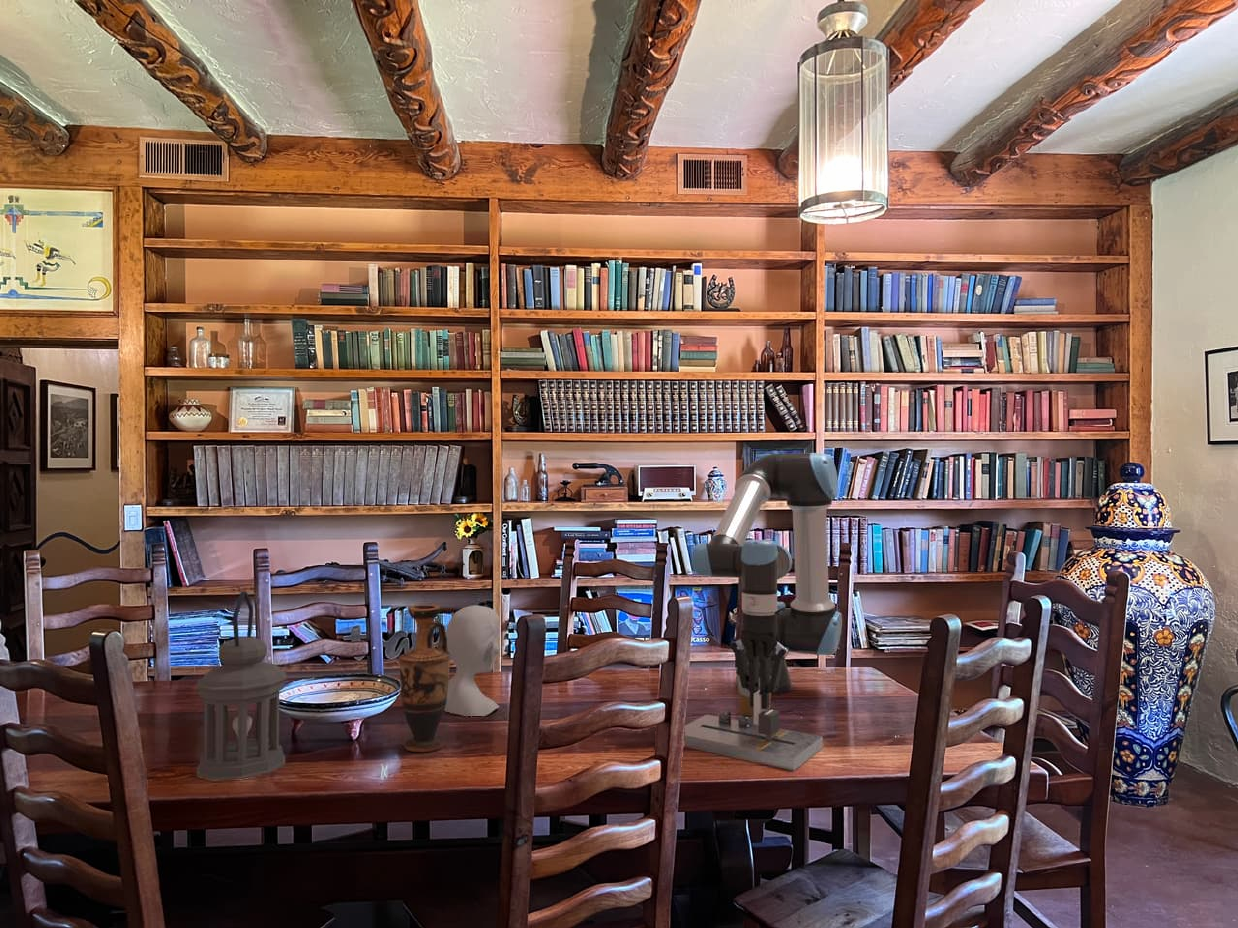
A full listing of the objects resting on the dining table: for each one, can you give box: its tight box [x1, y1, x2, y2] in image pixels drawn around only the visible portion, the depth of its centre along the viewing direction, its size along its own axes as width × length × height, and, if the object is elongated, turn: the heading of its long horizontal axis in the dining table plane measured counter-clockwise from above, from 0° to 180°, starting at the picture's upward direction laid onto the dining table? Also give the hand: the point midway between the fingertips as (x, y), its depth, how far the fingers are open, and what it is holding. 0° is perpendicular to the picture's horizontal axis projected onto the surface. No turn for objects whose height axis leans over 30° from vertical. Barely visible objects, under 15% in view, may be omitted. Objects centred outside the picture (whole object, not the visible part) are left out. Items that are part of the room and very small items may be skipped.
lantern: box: [196, 590, 288, 780], centre depth 161 cm, size 17×17×35 cm
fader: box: [759, 709, 780, 741], centre depth 170 cm, size 4×3×7 cm, turn 146°
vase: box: [398, 604, 451, 754], centre depth 172 cm, size 11×11×30 cm
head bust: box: [444, 604, 501, 718], centre depth 205 cm, size 22×19×25 cm
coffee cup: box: [735, 660, 772, 723], centre depth 185 cm, size 8×8×15 cm
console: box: [684, 710, 824, 771], centre depth 173 cm, size 16×28×4 cm, turn 56°
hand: (759, 723), depth 171 cm, fingers closed
